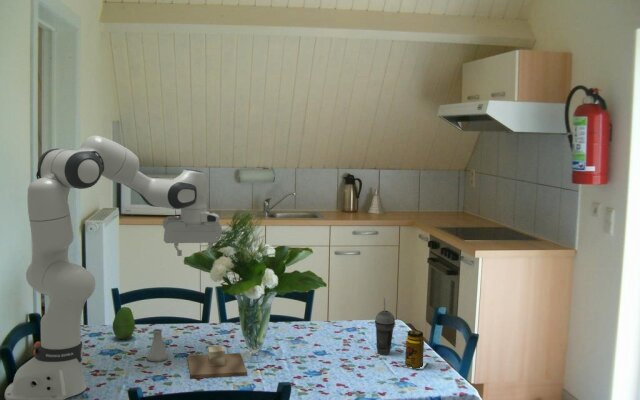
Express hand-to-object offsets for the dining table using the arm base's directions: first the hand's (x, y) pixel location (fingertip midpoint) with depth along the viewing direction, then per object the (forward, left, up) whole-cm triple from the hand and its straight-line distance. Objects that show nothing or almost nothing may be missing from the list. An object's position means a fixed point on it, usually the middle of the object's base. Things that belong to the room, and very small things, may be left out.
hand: (193, 255), depth 240 cm
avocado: (-24, +16, -34) cm, 45 cm away
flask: (-12, -7, -34) cm, 37 cm away
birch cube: (+7, -18, -33) cm, 38 cm away
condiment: (+74, -26, -34) cm, 86 cm away
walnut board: (+7, -18, -34) cm, 39 cm away
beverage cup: (+67, -13, -34) cm, 76 cm away
